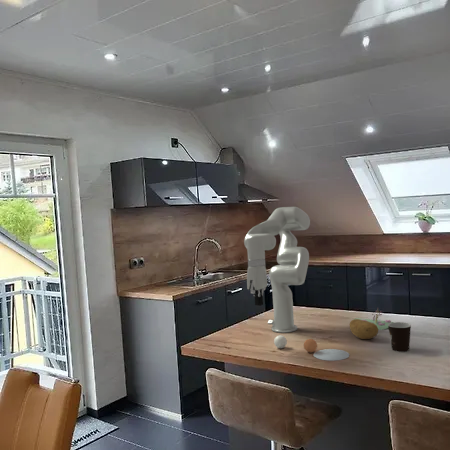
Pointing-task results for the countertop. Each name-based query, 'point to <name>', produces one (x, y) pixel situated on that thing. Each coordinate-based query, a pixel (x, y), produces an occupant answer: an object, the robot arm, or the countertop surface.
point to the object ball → (310, 345)
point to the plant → (378, 322)
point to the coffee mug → (399, 336)
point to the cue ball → (280, 341)
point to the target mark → (331, 354)
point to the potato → (363, 329)
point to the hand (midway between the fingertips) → (259, 305)
